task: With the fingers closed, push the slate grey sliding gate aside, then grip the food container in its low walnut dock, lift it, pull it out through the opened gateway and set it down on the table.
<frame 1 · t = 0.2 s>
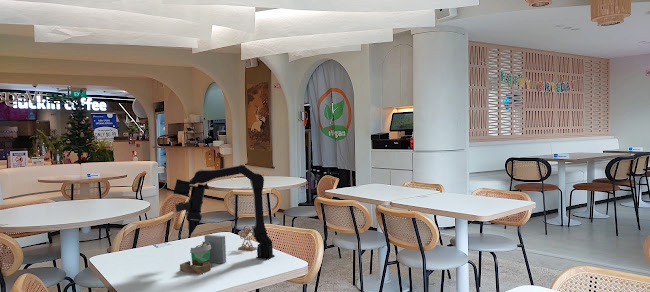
hand: (189, 231, 206), 15 cm above the table, tool pointing down, fingers open, 9 cm apart
food container: (204, 267, 204), on the table
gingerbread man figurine: (247, 249, 232), on the table
sliding gate: (215, 248, 211), point 6 cm above the table, slide at 0.0 cm
walnut dock: (195, 267, 198), on the table
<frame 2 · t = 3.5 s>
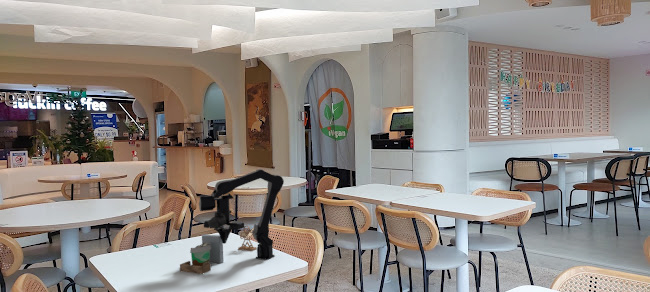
hand: (224, 243, 208), 9 cm above the table, tool pointing down, fingers closed
sliding gate: (212, 248, 211), point 6 cm above the table, slide at 1.5 cm, touching gripper
everything else where it was.
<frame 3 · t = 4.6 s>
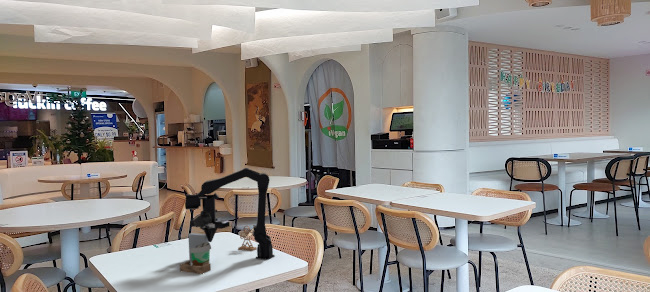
hand: (210, 241, 212), 9 cm above the table, tool pointing down, fingers closed
sliding gate: (198, 247, 215), point 6 cm above the table, slide at 9.5 cm, touching gripper
everything else where it was.
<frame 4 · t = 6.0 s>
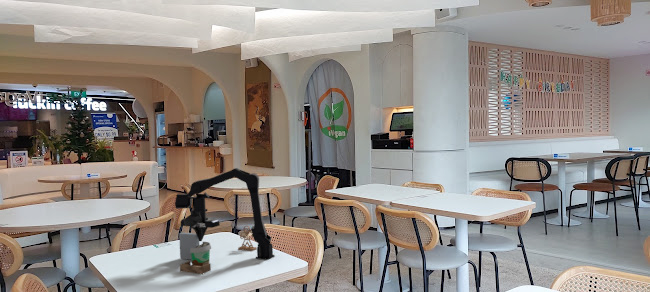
hand: (200, 241, 214), 9 cm above the table, tool pointing down, fingers closed
sliding gate: (189, 246, 217), point 6 cm above the table, slide at 15.0 cm, touching gripper
everything else where it was.
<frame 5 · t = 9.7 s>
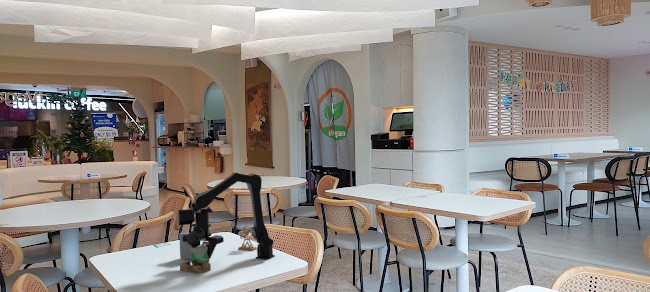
hand: (203, 257, 204), 4 cm above the table, tool pointing down, fingers closed on food container, 6 cm apart
food container: (204, 267, 204), on the table, touching gripper
sliding gate: (189, 246, 217), point 6 cm above the table, slide at 15.0 cm
everything else where it was.
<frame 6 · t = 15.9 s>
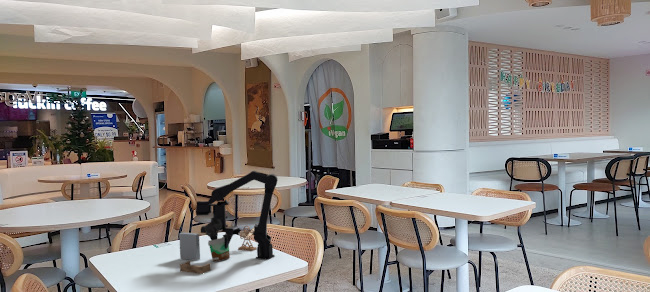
hand: (220, 248, 214), 6 cm above the table, tool pointing down, fingers closed on food container, 6 cm apart
food container: (224, 259, 215), on the table, touching gripper
everything else where it was.
when the fingers open (6 cm above the table, at t = 16.6 s): food container stays where it is, on the table.
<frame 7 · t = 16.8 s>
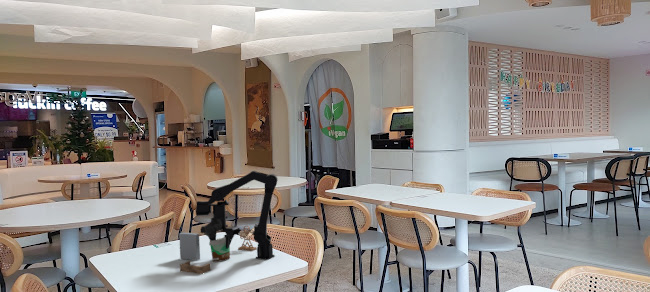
hand: (220, 248, 214), 5 cm above the table, tool pointing down, fingers open, 7 cm apart
food container: (224, 259, 215), on the table, touching gripper
everything else where it was.
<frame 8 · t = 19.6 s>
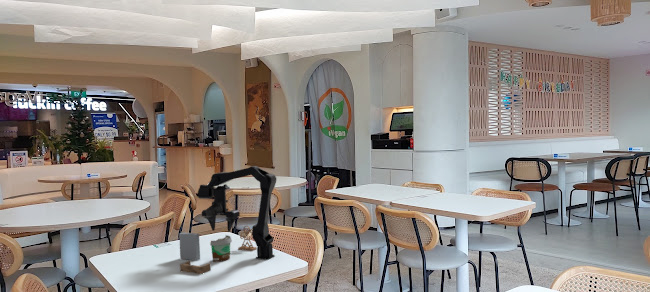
hand: (221, 231, 221), 12 cm above the table, tool pointing down, fingers open, 9 cm apart
food container: (224, 259, 215), on the table
everything else where it was.
at the end: sliding gate slide at 15.0 cm; food container inside the target area (1.6 cm from its centre), on the table; food container tilted 0° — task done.
